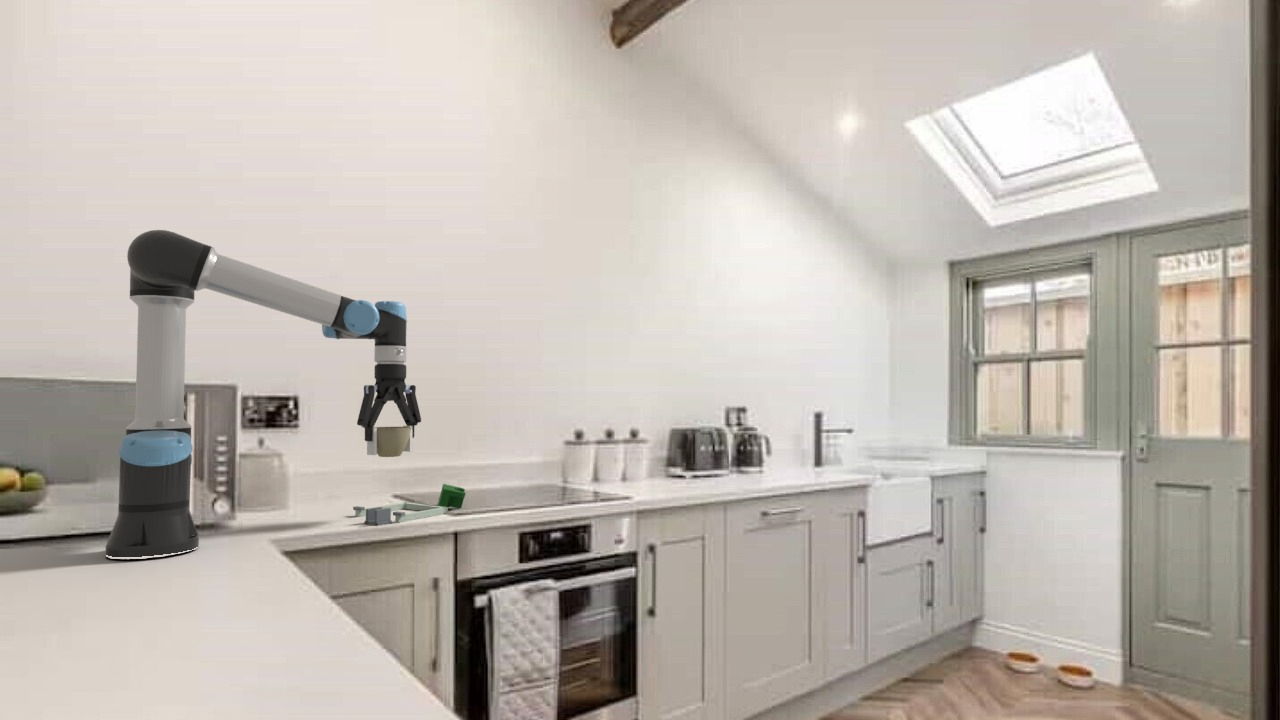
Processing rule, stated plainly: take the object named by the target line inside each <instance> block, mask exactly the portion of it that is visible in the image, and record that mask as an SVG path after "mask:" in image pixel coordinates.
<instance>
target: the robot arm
mask: <svg viewBox="0 0 1280 720" xmlns="http://www.w3.org/2000/svg"><path fill="white" fill-rule="evenodd" d="M126 256H127V262H128V263H127V264H128V266H129V268H130V270H129V299H130V300H131V301H132V302H133V303H134V304H135V305H136V306H137V335H136V336H137V341H136V343H137V344H136V346H137V347H136V380H135V417H134V418H135V419H134V420H133V421H132V422H131V423H130V424H129V425H127V426H126V431H125V436H123V437H122V439H121V442H120V447H119V449H118V454H119V458H120V459H119V479H118V482H119V483H118V505H117V506H118V508H117V509H118V510H117V517H116V519H115V522H114V525H113V527H112V530H111V532H110V535H109V537H108V540H107V541H106V545H105V554H106V555H108V556H112V557H142V556H154V555H163V554H171V553H178V552H183V551H187V550H192V549H194V548H196V547H198V546H199V542H200V540H199V539H200V537H199V534H198V529H197V528H196V525H195V522H194V520H193V516H192V513H191V511H190V510H191V509H190V503H191V502H190V501H191V500H190V499H191V498H190V497H191V496H190V495H191V474H192V473H191V471H192V469H191V468H192V462H193V461H192V460H193V459H192V458H193V456H192V452H193V444H192V425H191V424H190V423H189V422H188V421H186V420H185V417H184V414H185V413H184V410H185V409H184V407H185V371H186V368H185V366H186V365H185V364H186V361H185V360H186V327H187V326H186V323H187V322H186V319H187V309H188V308H189V307H191V305H192V304H194V303H195V291H197V292H199V291H202V290H204V289H205V290H209V291H213V292H216V293H219V294H223V295H226V296H229V297H232V298H236V299H239V300H242V301H245V302H248V303H251V304H254V305H259V306H261V307H265V308H268V309H271V310H274V311H277V312H280V313H284V314H288V315H290V316H293V317H297V318H300V319H304V320H306V321H310V322H313V323H316V324H317V323H318V324H320V325H321V331H322V336H323V337H324V338H326V339H327V338H328V339H336V340H340V339H343V340H344V339H345V340H346V339H347V340H349V339H350V340H373V341H374V356H373V358H374V360H373V361H374V362H375V363H376V364H375V365H374V379H375V383H374V385H373V384H372V385H371V384H368V385H367V384H366V385H364V386H363V399H362V402H361V406H360V409H359V414H358V418H357V421H356V423H357V424H356V425H358V426H361V428H364V441H365V442H366V455H367V456H377V455H378V454H377V428H373V427H375V425H376V422H377V420H378V419H379V416H380V415H381V412H382V411H383V408H384V406H385V405H387V403H388V402H394V404H396V407H397V408H398V410H399V413H400V415H401V417H402V419H403V421H404V422H405V425H403V426H402V427H411V432H410V437H409V440H408V442H407V445H406V447H405V449H404V451H403V452H405V453H406V452H408V453H410V452H413V439H414V438H415V427H416V426H418V424H420V423H421V422H422V416H421V413H420V407H419V404H418V401H417V395H416V388H417V386H416V385H414V384H412V385H411V384H408V385H407V384H406V379H407V365H406V364H404V363H406V362H407V322H408V320H407V307H406V305H405V304H404V303H403V302H401V301H394V300H392V301H390V300H388V301H387V300H382V301H376V302H375V303H374V304H373V303H372V302H370V301H368V300H364V299H358V300H357V299H356V300H355V299H352V298H350V297H348V296H347V297H346V296H343V295H340V294H337V293H335V292H332V291H328V290H326V289H323V288H319V287H318V286H314V285H310V284H308V283H304V282H302V281H299V280H297V279H293V278H290V277H287V276H284V275H281V274H279V273H276V272H272V271H269V270H267V269H263V268H261V267H257V266H254V265H253V264H249V263H245V262H243V261H239V260H237V259H234V258H231V257H228V256H225V255H222V254H219V253H218V252H217V251H216V249H215V247H214V246H211V245H208V244H205V243H202V242H200V241H197V240H195V239H192V238H189V237H186V236H184V235H181V234H179V233H176V232H174V231H170V230H165V229H153V230H149V231H145V232H142V233H140V234H139V235H138V236H136V237H135V238H134V239H133V240H132V242H131V243H130V245H129V247H128V249H127V255H126ZM404 393H405V394H404ZM375 394H376V395H375ZM199 547H200V546H199ZM199 547H198V548H199ZM105 554H104V555H105Z"/></svg>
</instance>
